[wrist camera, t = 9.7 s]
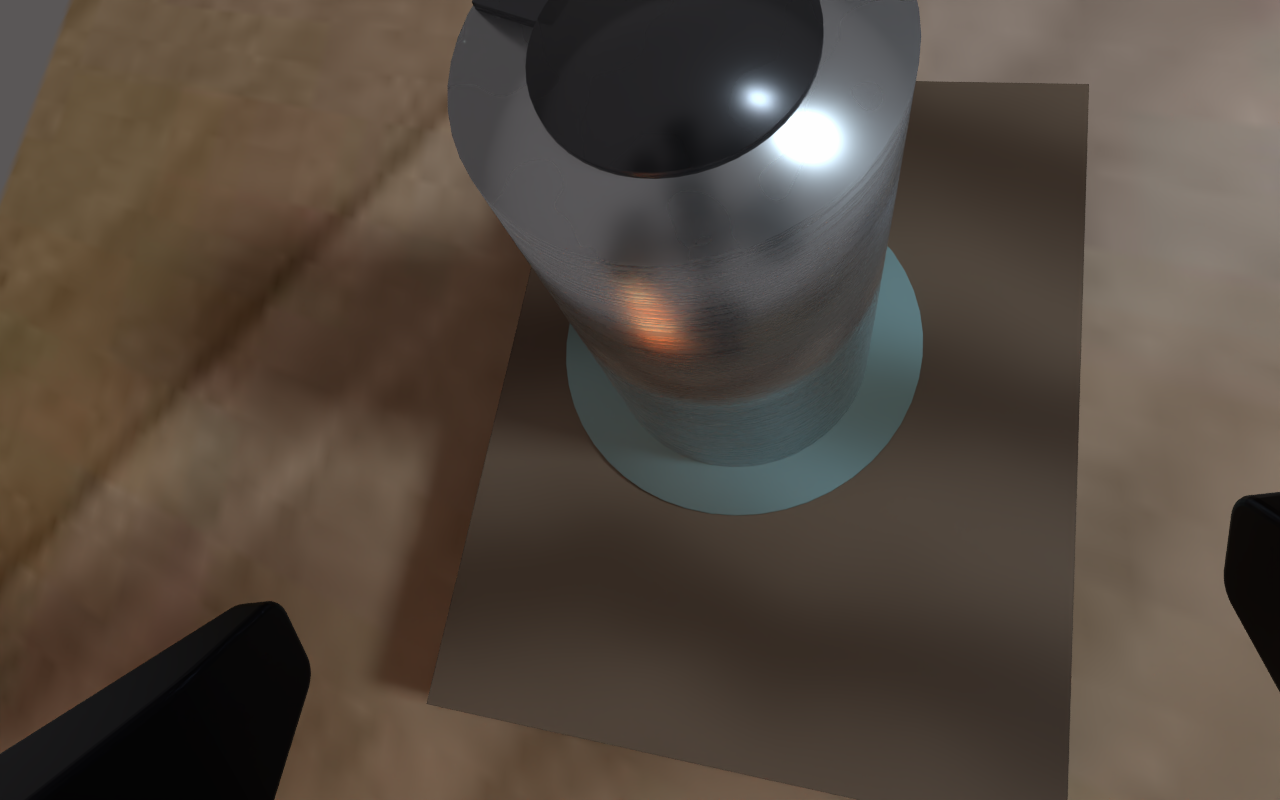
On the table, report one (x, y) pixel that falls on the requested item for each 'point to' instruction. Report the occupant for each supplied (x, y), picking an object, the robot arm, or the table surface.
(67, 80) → the table surface
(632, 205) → the silver metal cylinder
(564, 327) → the walnut board
